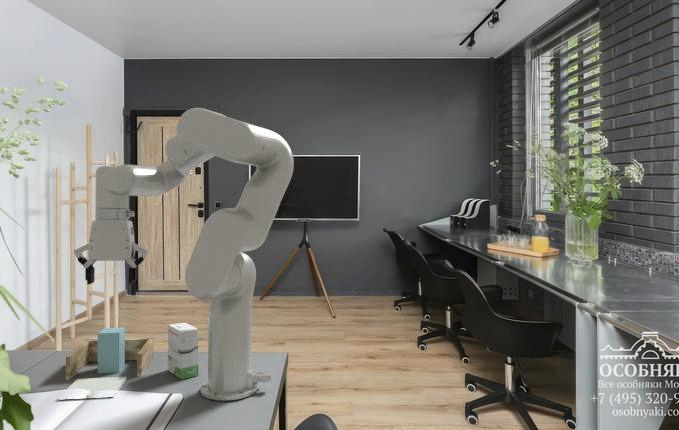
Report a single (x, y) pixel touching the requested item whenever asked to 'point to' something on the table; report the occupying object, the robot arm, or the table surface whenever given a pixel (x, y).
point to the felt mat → (98, 384)
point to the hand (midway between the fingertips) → (111, 283)
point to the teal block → (111, 350)
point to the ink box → (183, 350)
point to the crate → (89, 352)
